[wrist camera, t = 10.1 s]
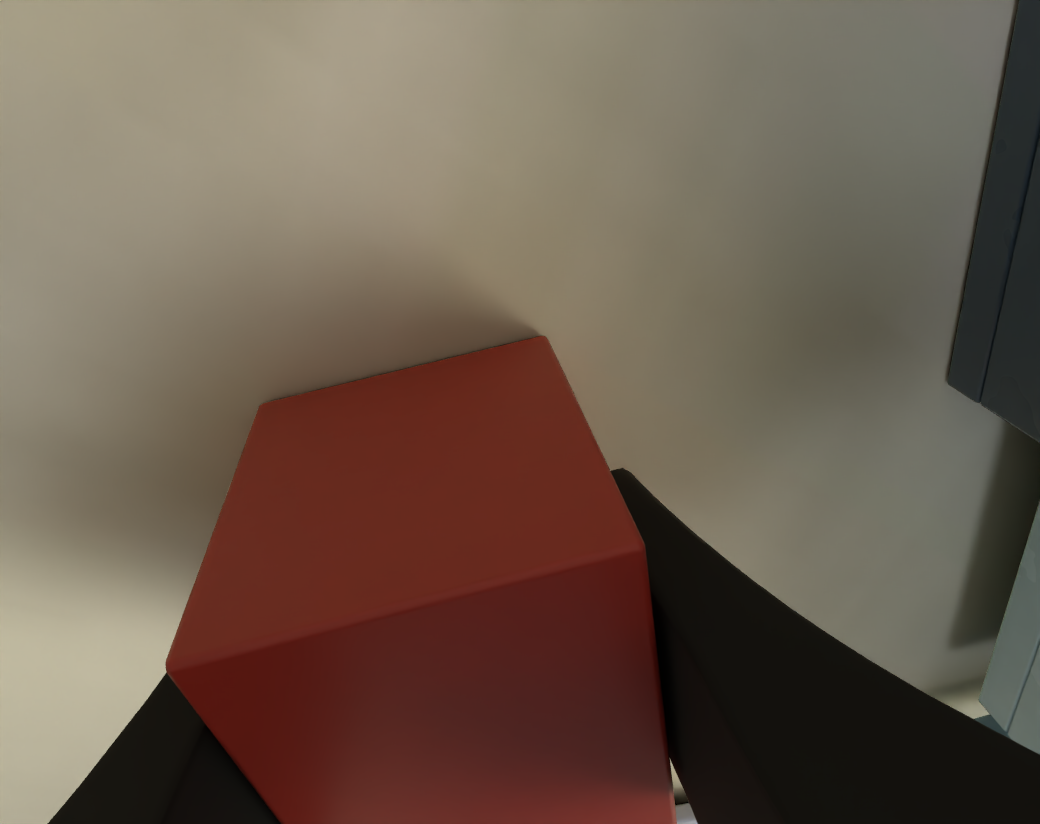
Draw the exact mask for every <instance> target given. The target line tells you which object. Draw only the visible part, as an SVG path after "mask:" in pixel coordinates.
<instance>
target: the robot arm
mask: <svg viewBox="0 0 1040 824" xmlns="http://www.w3.org/2000/svg"><path fill="white" fill-rule="evenodd" d="M610 472H611V474H612V476H613V478H614V480H615V482H616V484H617V486H618V489H619V491H620V493H621V495H622V497H623V499H624V501H625V503H626V505H627V508H628V510H629V512H630V514H631V516H632V518H633V520H634V522H635V525H636V527H637V529H638V531H639V533H640V535H641V537H642V539H643V541H644V544H645V549H646V557H647V566H648V575H649V583H650V592H651V601H652V609H653V618H654V627H655V636H656V644H657V653H658V662H659V670H660V679H661V688H662V696H663V705H664V714H665V722H666V731H667V740H668V749H669V757H670V760H671V762H672V764H673V766H674V769H675V771H676V773H677V775H678V778H679V780H680V782H681V784H682V787H683V789H684V791H685V793H686V796H687V799H688V801H689V803H686V804H681V805H675V809H676V818H677V824H1040V754H1038V753H1036V752H1034V751H1032V750H1030V749H1028V748H1026V747H1025V746H1023V745H1021V744H1019V743H1017V742H1015V741H1013V740H1011V739H1010V738H1008V737H1006V736H1004V735H1002V734H1000V733H998V732H996V731H995V730H993V729H991V728H989V727H987V726H985V725H983V724H981V723H980V722H978V721H976V720H974V719H972V718H970V717H968V716H967V715H965V714H963V713H961V712H959V711H957V710H955V709H953V708H952V707H950V706H948V705H946V704H944V703H942V702H940V701H938V700H937V699H935V698H933V697H931V696H929V695H927V694H926V693H924V692H922V691H920V690H919V689H917V688H915V687H914V686H912V685H910V684H909V683H907V682H905V681H904V680H902V679H900V678H899V677H897V676H895V675H894V674H892V673H890V672H888V671H887V670H885V669H883V668H882V667H880V666H878V665H877V664H875V663H873V662H872V661H870V660H868V659H867V658H865V657H864V656H862V655H861V654H859V653H857V652H856V651H854V650H853V649H851V648H850V647H848V646H846V645H845V644H843V643H842V642H840V641H839V640H837V639H835V638H834V637H832V636H831V635H829V634H828V633H826V632H825V631H823V630H822V629H820V628H819V627H817V626H816V625H814V624H813V623H811V622H810V621H808V620H807V619H806V618H804V617H803V616H801V615H800V614H798V613H797V612H796V611H794V610H793V609H791V608H790V607H788V606H787V605H786V604H784V603H783V602H782V601H780V600H779V599H777V598H776V597H775V596H773V595H772V594H771V593H769V592H768V591H767V590H765V589H764V588H763V587H761V586H760V585H758V584H757V583H756V582H754V581H753V580H752V579H751V578H749V577H748V576H747V575H745V574H744V573H743V572H742V571H740V570H739V569H738V568H736V567H735V566H734V565H733V564H731V563H730V562H729V561H728V560H727V559H725V558H724V557H723V556H722V555H720V554H719V553H718V552H717V551H716V550H714V549H713V548H712V547H711V546H710V545H708V544H707V543H706V542H705V541H703V540H702V539H701V538H700V537H699V536H697V535H696V534H695V533H694V532H693V531H692V530H691V529H689V528H688V527H687V526H686V525H685V524H684V523H683V522H681V521H680V520H679V519H678V518H677V517H676V516H675V515H674V514H673V513H672V512H671V511H669V510H668V509H667V508H666V507H665V506H664V505H663V504H662V503H661V502H660V501H659V500H658V499H657V498H656V497H654V496H653V495H652V494H651V493H650V492H649V491H648V490H647V489H646V488H645V487H644V486H643V485H642V484H641V483H640V482H639V481H638V480H637V479H636V478H635V476H634V475H633V474H632V473H631V472H629V471H627V470H626V469H624V468H620V469H616V470H613V471H610ZM48 824H281V823H280V822H279V821H278V819H277V818H276V817H275V815H274V814H273V813H272V811H271V810H270V809H269V808H268V806H267V805H266V804H265V802H264V801H263V800H262V798H261V797H260V796H259V794H258V793H257V792H256V790H255V789H254V788H253V786H252V785H251V784H250V782H249V781H248V780H247V778H246V777H245V776H244V774H243V773H242V772H241V770H240V769H239V768H238V766H237V765H236V764H235V763H234V761H233V760H232V759H231V757H230V756H229V755H228V753H227V752H226V751H225V749H224V748H223V747H222V745H221V744H220V743H219V741H218V740H217V739H216V737H215V736H214V735H213V733H212V732H211V731H210V729H209V728H208V727H207V725H206V724H205V723H204V721H203V720H202V719H201V717H200V716H199V715H198V714H197V712H196V711H195V710H194V708H193V707H192V706H191V704H190V703H189V702H188V700H187V699H186V698H185V696H184V695H183V694H182V692H181V691H180V690H179V688H178V687H177V686H176V684H175V683H174V682H173V680H172V679H171V678H170V676H169V675H168V674H167V673H166V674H165V676H164V677H163V678H162V680H161V681H160V682H159V684H158V685H157V687H156V688H155V689H154V691H153V692H152V694H151V695H150V696H149V698H148V699H147V700H146V702H145V703H144V704H143V706H142V707H141V708H140V709H139V711H138V712H137V713H136V714H135V716H134V717H133V718H132V720H131V721H130V722H129V723H128V725H127V726H126V727H125V729H124V730H123V731H122V732H121V734H120V735H119V736H118V737H117V739H116V740H115V741H114V743H113V744H112V745H111V746H110V748H109V749H108V750H107V752H106V753H105V754H104V755H103V757H102V758H101V759H100V760H99V762H98V763H97V764H96V766H95V767H94V768H93V769H92V771H91V772H90V773H89V775H88V776H87V777H86V778H85V780H84V781H83V782H82V783H81V785H80V786H79V787H78V788H77V789H76V791H75V792H74V793H73V794H72V796H71V797H70V798H69V799H68V800H67V802H66V803H65V804H64V805H63V806H62V808H61V809H60V810H59V811H58V812H57V813H56V815H55V816H54V817H53V818H52V819H51V820H50V822H49V823H48Z"/></svg>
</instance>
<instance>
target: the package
mask: <svg viewBox="0 0 1040 824" xmlns="http://www.w3.org/2000/svg"><path fill="white" fill-rule="evenodd" d="M166 671H167V674H168V675H169V676H170V678H171V679H172V680H173V682H174V683H175V684H176V686H177V687H178V688H179V690H180V691H181V692H182V694H183V695H184V696H185V698H186V699H187V700H188V702H189V703H190V704H191V706H192V707H193V708H194V710H195V711H196V712H197V714H198V715H199V716H200V717H201V719H202V720H203V721H204V723H205V724H206V725H207V727H208V728H209V729H210V731H211V732H212V733H213V735H214V736H215V737H216V739H217V740H218V741H219V743H220V744H221V745H222V747H223V748H224V749H225V751H226V752H227V753H228V755H229V756H230V757H231V759H232V760H233V761H234V763H235V764H236V765H237V766H238V768H239V769H240V770H241V772H242V773H243V774H244V776H245V777H246V778H247V780H248V781H249V782H250V784H251V785H252V786H253V788H254V789H255V790H256V792H257V793H258V794H259V796H260V797H261V798H262V800H263V801H264V802H265V804H266V805H267V806H268V808H269V809H270V810H271V811H272V813H273V814H274V815H275V817H276V818H277V819H278V821H279V822H280V823H281V824H677V818H676V809H675V801H674V792H673V783H672V775H671V766H670V757H669V749H668V740H667V731H666V722H665V714H664V705H663V696H662V688H661V679H660V670H659V662H658V653H657V644H656V636H655V627H654V618H653V609H652V601H651V592H650V583H649V575H648V566H647V557H646V549H645V544H644V541H643V539H642V537H641V535H640V533H639V531H638V529H637V527H636V525H635V522H634V520H633V518H632V516H631V514H630V512H629V510H628V508H627V505H626V503H625V501H624V499H623V497H622V495H621V493H620V491H619V489H618V486H617V484H616V482H615V480H614V478H613V476H612V474H611V472H610V470H609V467H608V465H607V463H606V461H605V459H604V457H603V455H602V453H601V450H600V448H599V446H598V444H597V442H596V440H595V438H594V436H593V434H592V431H591V429H590V427H589V425H588V423H587V421H586V419H585V417H584V415H583V412H582V410H581V408H580V406H579V404H578V402H577V400H576V398H575V395H574V393H573V391H572V389H571V387H570V385H569V383H568V381H567V379H566V376H565V374H564V372H563V370H562V368H561V366H560V364H559V362H558V360H557V357H556V355H555V353H554V351H553V349H552V347H551V345H550V343H549V340H548V339H547V338H546V337H545V336H539V337H535V338H531V339H527V340H522V341H518V342H514V343H510V344H506V345H502V346H498V347H494V348H489V349H485V350H481V351H477V352H473V353H469V354H465V355H460V356H456V357H452V358H448V359H444V360H440V361H436V362H432V363H427V364H423V365H419V366H415V367H411V368H407V369H403V370H399V371H394V372H390V373H386V374H382V375H378V376H374V377H370V378H365V379H361V380H357V381H353V382H349V383H345V384H341V385H337V386H332V387H328V388H324V389H320V390H316V391H312V392H308V393H304V394H299V395H295V396H291V397H287V398H283V399H279V400H275V401H270V402H266V403H263V404H262V405H260V406H259V408H258V410H257V413H256V416H255V419H254V421H253V424H252V427H251V430H250V432H249V435H248V438H247V441H246V443H245V446H244V449H243V452H242V454H241V457H240V460H239V462H238V465H237V468H236V471H235V473H234V476H233V479H232V482H231V484H230V487H229V490H228V493H227V495H226V498H225V501H224V504H223V506H222V509H221V512H220V514H219V517H218V520H217V523H216V525H215V528H214V531H213V534H212V536H211V539H210V542H209V545H208V547H207V550H206V553H205V556H204V558H203V561H202V564H201V566H200V569H199V572H198V575H197V577H196V580H195V583H194V586H193V588H192V591H191V594H190V597H189V599H188V602H187V605H186V608H185V610H184V613H183V616H182V618H181V621H180V624H179V627H178V629H177V632H176V635H175V638H174V640H173V643H172V646H171V649H170V651H169V654H168V657H167V659H166Z"/></svg>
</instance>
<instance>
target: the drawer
mask: <svg viewBox="0 0 1040 824" xmlns="http://www.w3.org/2000/svg"><path fill="white" fill-rule="evenodd" d="M979 702H980V703H981V704H982V705H983V706H984V708H985V709H986V710H987V711H988V712H989V713H990V715H986V716H983V717H979V718H975V719H974V720H976V721H978V722H980V723H981V724H983V725H985V726H987V727H989V728H991V729H993V730H995V731H996V732H998V733H1000V734H1002V735H1004V736H1006V737H1008V738H1010V739H1011V740H1013V741H1015V742H1017V743H1019V744H1021V745H1023V746H1025V747H1026V748H1028V749H1030V750H1032V751H1034V752H1036V753H1038V754H1040V501H1039V505H1038V508H1037V511H1036V514H1035V517H1034V521H1033V524H1032V527H1031V530H1030V534H1029V537H1028V540H1027V543H1026V547H1025V550H1024V553H1023V556H1022V560H1021V563H1020V566H1019V569H1018V572H1017V576H1016V579H1015V582H1014V585H1013V589H1012V592H1011V595H1010V598H1009V602H1008V605H1007V608H1006V611H1005V615H1004V618H1003V621H1002V624H1001V627H1000V631H999V634H998V637H997V640H996V644H995V647H994V650H993V653H992V657H991V660H990V663H989V666H988V670H987V673H986V676H985V679H984V682H983V686H982V689H981V692H980V695H979Z"/></svg>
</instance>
